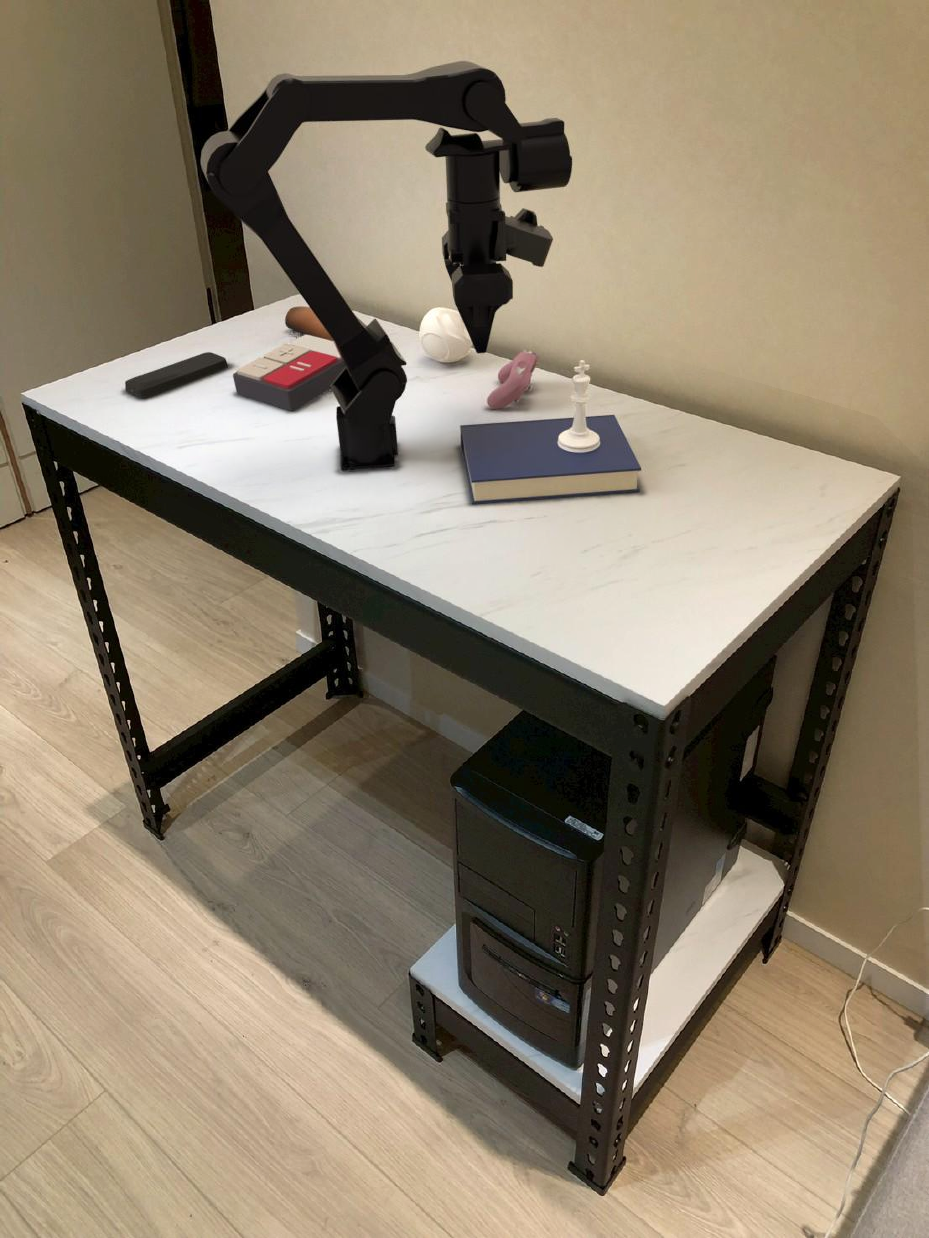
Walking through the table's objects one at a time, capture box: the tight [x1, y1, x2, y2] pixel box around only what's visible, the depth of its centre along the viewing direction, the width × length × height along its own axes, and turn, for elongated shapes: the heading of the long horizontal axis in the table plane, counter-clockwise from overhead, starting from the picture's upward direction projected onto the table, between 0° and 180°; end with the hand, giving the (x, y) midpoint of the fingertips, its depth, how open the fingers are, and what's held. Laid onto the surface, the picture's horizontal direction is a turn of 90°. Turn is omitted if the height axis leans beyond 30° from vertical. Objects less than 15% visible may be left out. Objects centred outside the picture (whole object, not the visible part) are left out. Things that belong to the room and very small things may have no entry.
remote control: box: [124, 351, 229, 399], centre depth 140 cm, size 5×2×15 cm
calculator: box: [232, 334, 345, 412], centre depth 137 cm, size 11×4×15 cm
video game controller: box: [486, 348, 540, 410], centre depth 131 cm, size 10×5×7 cm, turn 168°
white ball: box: [418, 307, 473, 364], centre depth 141 cm, size 8×8×8 cm
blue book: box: [459, 414, 642, 505], centre depth 115 cm, size 19×14×3 cm
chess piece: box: [558, 359, 600, 453], centre depth 111 cm, size 5×5×10 cm
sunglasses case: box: [284, 305, 333, 341], centre depth 150 cm, size 18×7×7 cm
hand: (477, 338), depth 115 cm, fingers open, 9 cm apart
